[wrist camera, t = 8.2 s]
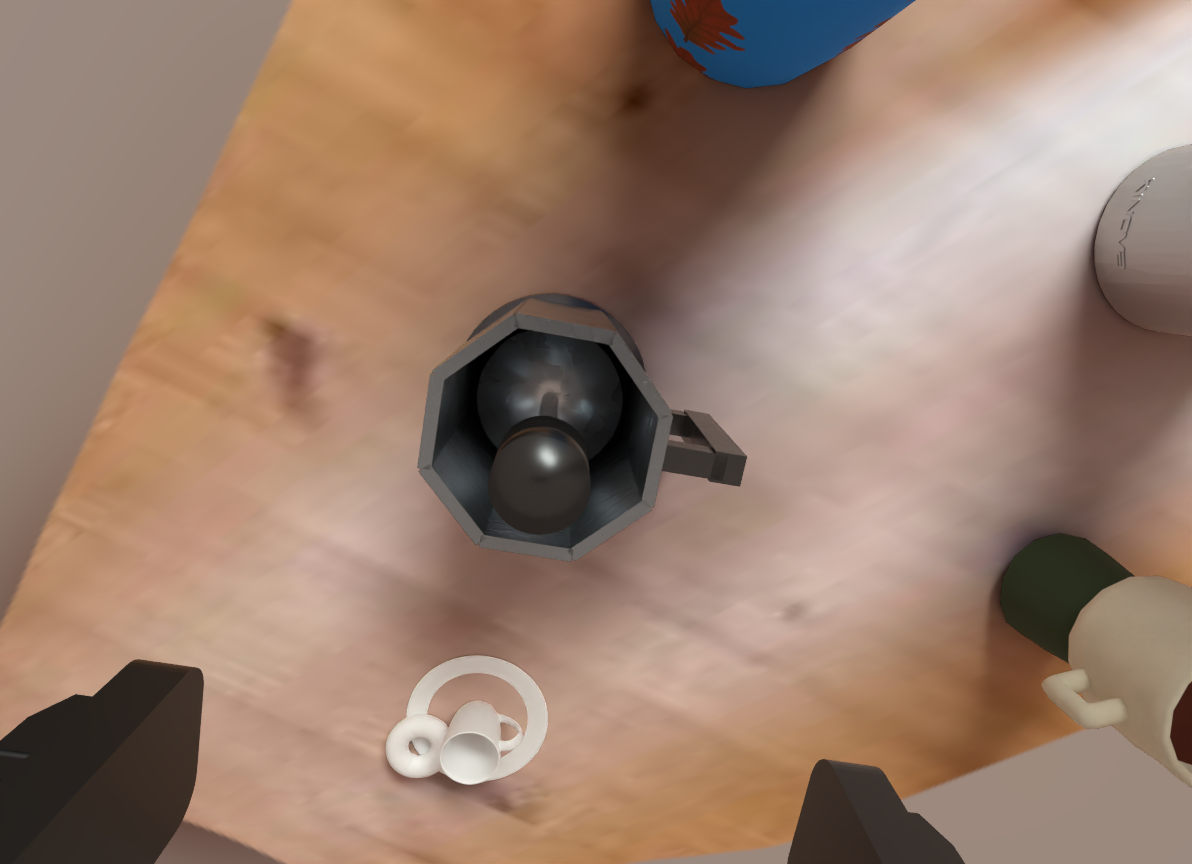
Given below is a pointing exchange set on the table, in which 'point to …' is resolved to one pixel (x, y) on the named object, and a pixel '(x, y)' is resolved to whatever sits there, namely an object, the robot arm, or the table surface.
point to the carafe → (617, 473)
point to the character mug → (1109, 643)
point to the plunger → (546, 426)
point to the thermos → (767, 34)
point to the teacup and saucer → (467, 728)
